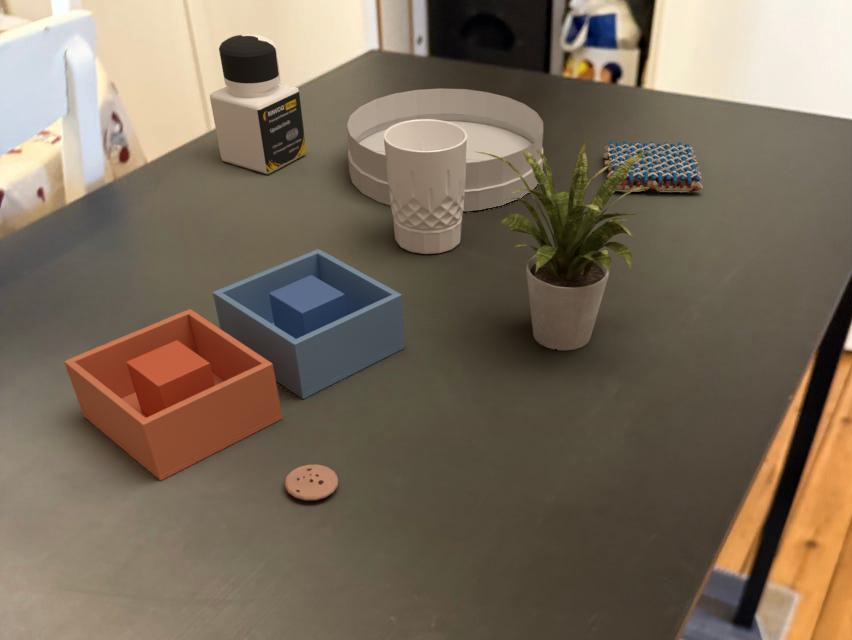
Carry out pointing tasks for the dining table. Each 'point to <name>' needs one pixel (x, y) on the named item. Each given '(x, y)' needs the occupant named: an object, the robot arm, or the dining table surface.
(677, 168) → the woven mat
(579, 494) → the dining table surface
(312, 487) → the cookie
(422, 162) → the white cup
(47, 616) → the dining table surface
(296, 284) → the blue block
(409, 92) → the dish
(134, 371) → the terracotta block
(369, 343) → the blue bin
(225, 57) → the medicine bottle
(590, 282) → the house plant
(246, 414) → the terracotta bin
